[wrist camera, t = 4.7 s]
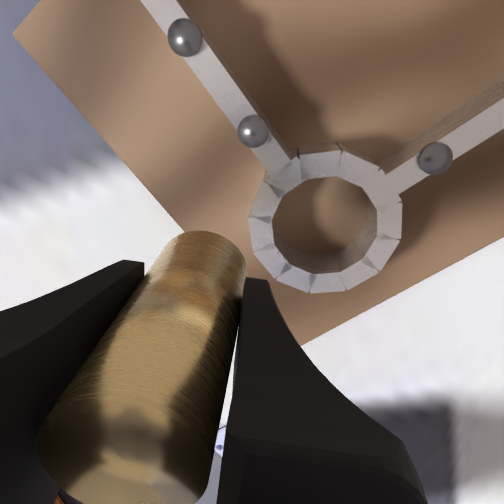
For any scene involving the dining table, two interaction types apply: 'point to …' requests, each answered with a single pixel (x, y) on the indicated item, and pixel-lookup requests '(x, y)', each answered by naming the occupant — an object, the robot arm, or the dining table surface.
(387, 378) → the dining table surface
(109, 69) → the board
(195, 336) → the brass pin
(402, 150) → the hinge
